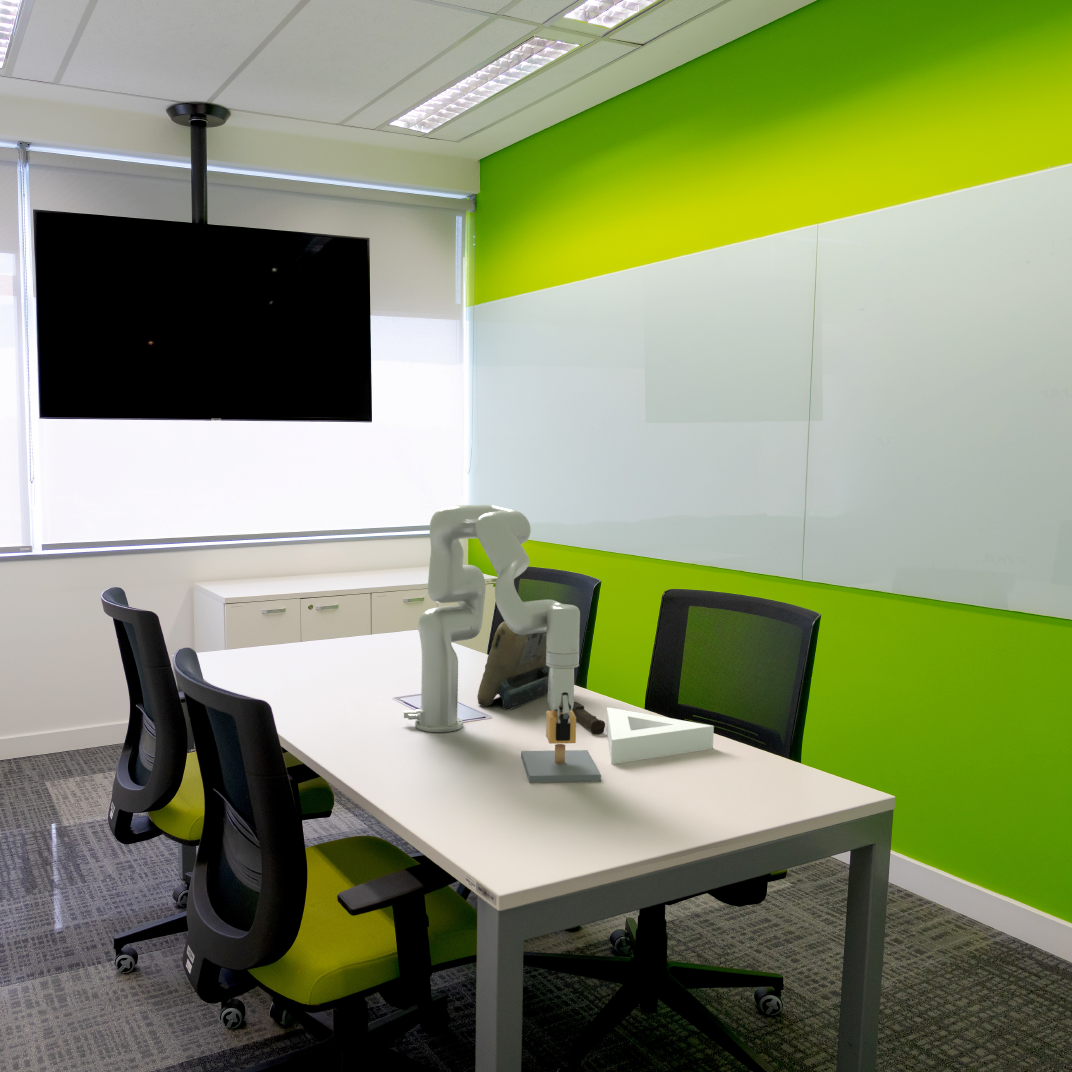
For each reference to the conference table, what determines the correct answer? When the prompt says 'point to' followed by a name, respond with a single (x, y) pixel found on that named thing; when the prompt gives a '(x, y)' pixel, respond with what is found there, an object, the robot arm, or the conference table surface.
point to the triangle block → (653, 736)
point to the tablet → (515, 669)
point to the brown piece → (588, 719)
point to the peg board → (560, 765)
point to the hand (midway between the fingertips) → (560, 735)
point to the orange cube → (551, 727)
